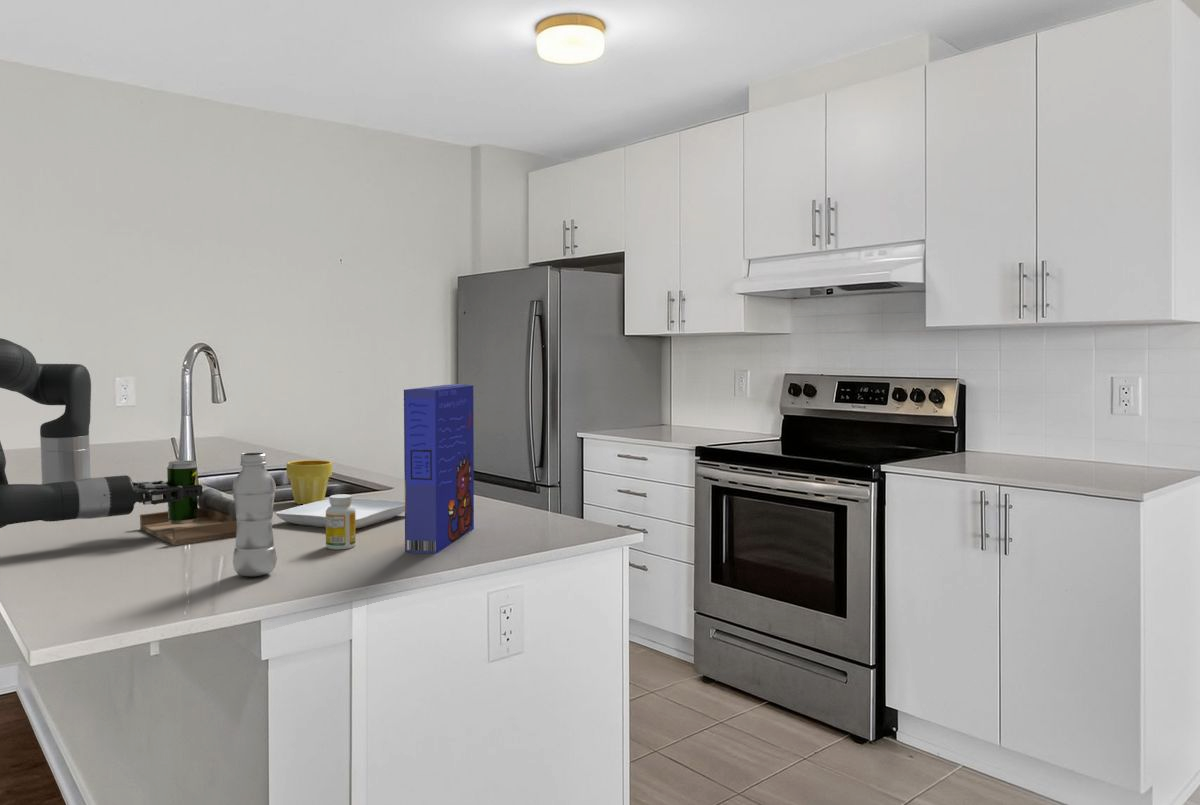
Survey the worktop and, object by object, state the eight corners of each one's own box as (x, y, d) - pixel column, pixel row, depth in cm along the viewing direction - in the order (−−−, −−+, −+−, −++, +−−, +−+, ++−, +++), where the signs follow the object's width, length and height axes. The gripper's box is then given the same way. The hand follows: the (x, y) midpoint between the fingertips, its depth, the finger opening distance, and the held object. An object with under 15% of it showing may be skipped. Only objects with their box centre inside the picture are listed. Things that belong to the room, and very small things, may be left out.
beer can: (169, 525, 166) (168, 464, 166) (166, 520, 171) (165, 461, 170) (199, 522, 169) (199, 462, 169) (195, 518, 174) (195, 459, 173)
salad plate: (272, 527, 179) (271, 510, 178) (339, 509, 198) (338, 495, 198) (355, 535, 171) (354, 518, 170) (415, 516, 190) (415, 501, 190)
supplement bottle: (334, 551, 156) (333, 499, 155) (320, 546, 160) (320, 495, 159) (361, 546, 160) (360, 496, 159) (347, 542, 163) (347, 492, 163)
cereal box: (446, 527, 177) (445, 383, 175) (473, 528, 176) (473, 383, 174) (405, 552, 156) (403, 388, 154) (436, 553, 155) (435, 388, 153)
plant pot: (339, 499, 209) (338, 459, 209) (321, 507, 199) (321, 465, 199) (298, 498, 210) (298, 459, 210) (279, 505, 200) (278, 464, 200)
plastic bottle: (240, 570, 142) (238, 451, 141) (282, 570, 143) (280, 451, 141) (227, 581, 136) (224, 456, 134) (270, 580, 136) (268, 456, 135)
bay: (140, 529, 174) (139, 495, 173) (220, 518, 185) (219, 486, 185) (175, 545, 160) (174, 508, 159) (259, 533, 171) (258, 498, 170)
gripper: (113, 481, 154) (209, 473, 166) (90, 473, 164) (183, 465, 176) (114, 522, 155) (210, 511, 167) (91, 511, 165) (183, 501, 177)
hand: (195, 488), depth 171 cm, fingers closed on beer can, 5 cm apart
